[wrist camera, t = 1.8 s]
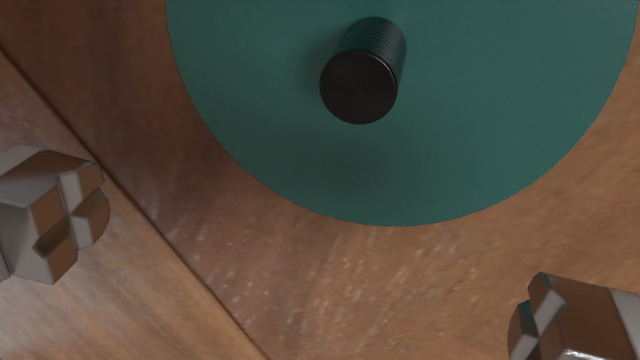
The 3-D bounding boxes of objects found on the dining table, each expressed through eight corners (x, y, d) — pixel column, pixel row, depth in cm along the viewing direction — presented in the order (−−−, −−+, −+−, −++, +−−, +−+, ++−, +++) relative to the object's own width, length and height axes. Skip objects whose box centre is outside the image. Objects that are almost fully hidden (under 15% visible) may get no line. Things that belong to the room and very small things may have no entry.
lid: (161, -282, 14) (37, -352, 10) (754, -219, 12) (926, -273, 8) (189, 168, 24) (134, 232, 19) (517, 246, 22) (535, 335, 17)
